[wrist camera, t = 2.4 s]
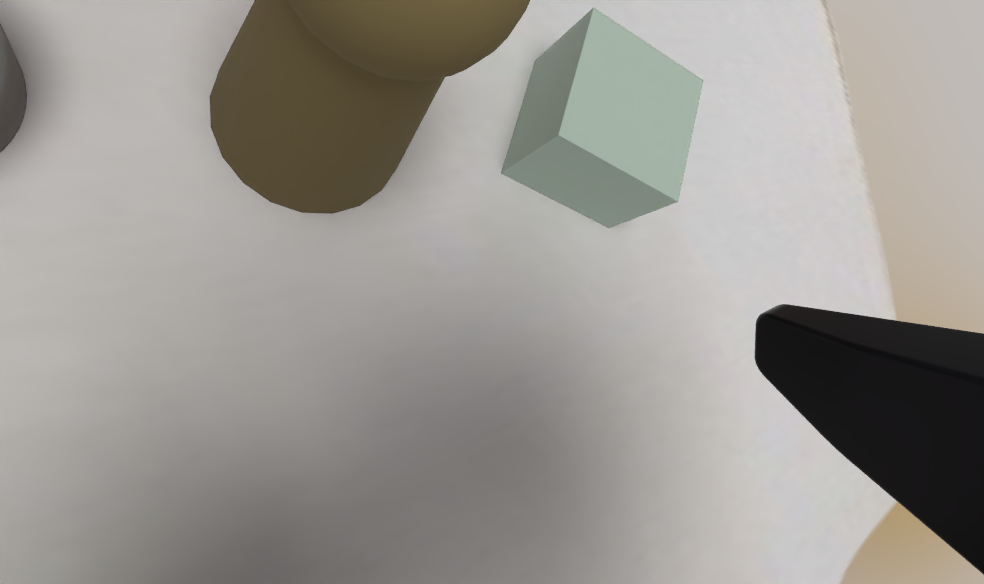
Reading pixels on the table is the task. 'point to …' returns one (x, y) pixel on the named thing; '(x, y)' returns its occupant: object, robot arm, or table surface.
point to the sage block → (605, 123)
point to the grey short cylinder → (10, 92)
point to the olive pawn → (341, 90)
